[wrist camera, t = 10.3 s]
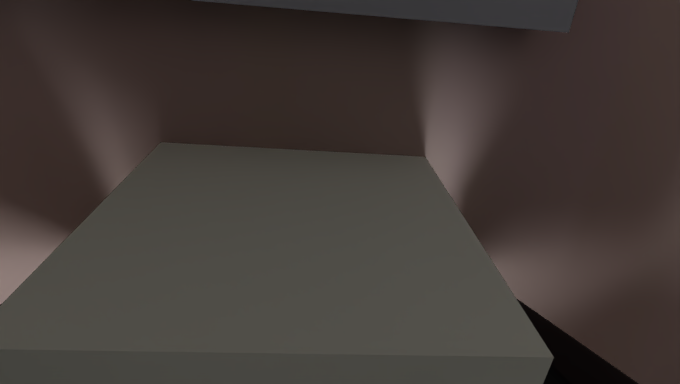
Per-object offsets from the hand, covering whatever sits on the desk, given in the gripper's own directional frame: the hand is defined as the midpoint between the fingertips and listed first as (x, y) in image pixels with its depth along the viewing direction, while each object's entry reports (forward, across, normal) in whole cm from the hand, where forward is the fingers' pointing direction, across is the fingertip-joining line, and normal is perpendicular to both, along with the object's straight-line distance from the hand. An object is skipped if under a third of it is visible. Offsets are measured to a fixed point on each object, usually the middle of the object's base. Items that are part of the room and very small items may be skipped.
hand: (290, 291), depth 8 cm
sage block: (+1, 0, 0) cm, 1 cm away
